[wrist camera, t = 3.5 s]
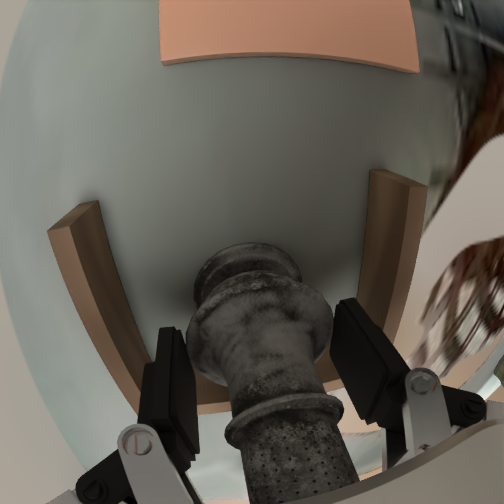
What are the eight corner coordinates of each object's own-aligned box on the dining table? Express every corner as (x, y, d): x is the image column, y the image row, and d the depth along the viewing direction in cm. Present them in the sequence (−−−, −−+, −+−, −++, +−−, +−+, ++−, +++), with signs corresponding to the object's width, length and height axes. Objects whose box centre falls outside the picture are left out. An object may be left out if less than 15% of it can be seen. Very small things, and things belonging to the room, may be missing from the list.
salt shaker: (181, 239, 12) (172, 591, 1) (313, 233, 13) (495, 481, 2) (193, 341, 15) (212, 573, 4) (300, 331, 15) (385, 534, 5)
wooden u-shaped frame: (386, 170, 12) (427, 186, 9) (361, 342, 17) (381, 375, 14) (78, 204, 10) (46, 231, 8) (143, 377, 15) (139, 417, 13)
